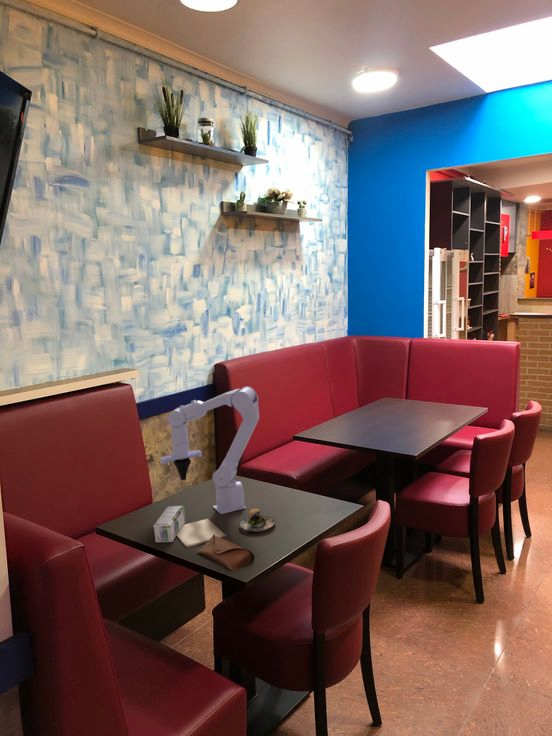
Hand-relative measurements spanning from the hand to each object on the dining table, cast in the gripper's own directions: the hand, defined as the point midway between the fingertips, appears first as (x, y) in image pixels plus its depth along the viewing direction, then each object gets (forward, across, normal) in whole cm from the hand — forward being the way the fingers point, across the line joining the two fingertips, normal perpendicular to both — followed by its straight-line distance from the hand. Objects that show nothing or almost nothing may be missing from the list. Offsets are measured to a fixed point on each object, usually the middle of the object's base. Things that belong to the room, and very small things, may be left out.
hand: (183, 479), depth 207 cm
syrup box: (+7, +7, +12) cm, 16 cm away
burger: (+11, -14, +30) cm, 35 cm away
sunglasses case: (+11, +3, +43) cm, 44 cm away
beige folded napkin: (+10, +4, +24) cm, 26 cm away
